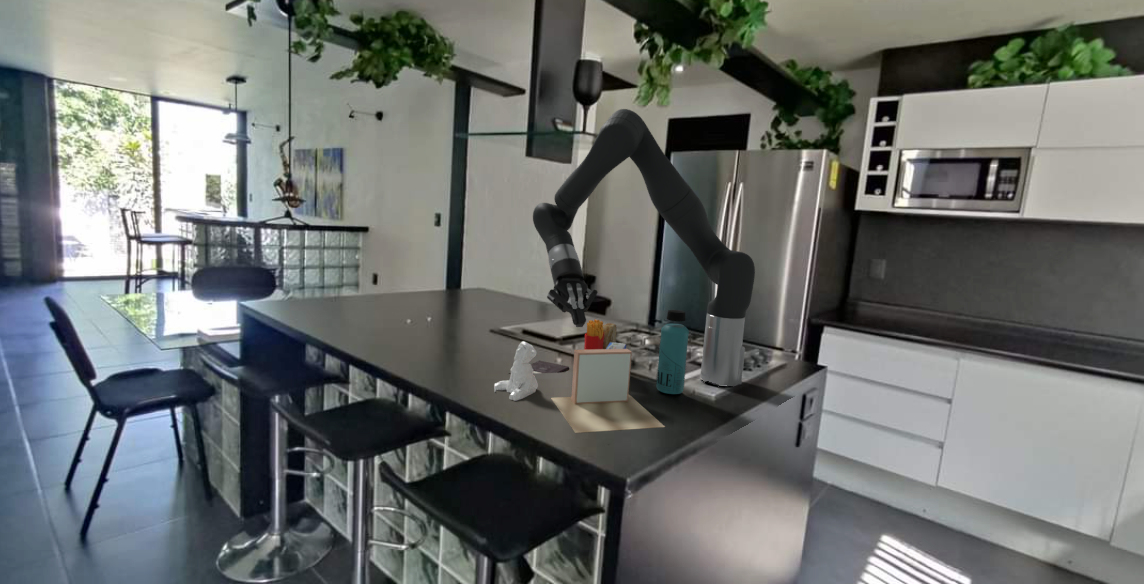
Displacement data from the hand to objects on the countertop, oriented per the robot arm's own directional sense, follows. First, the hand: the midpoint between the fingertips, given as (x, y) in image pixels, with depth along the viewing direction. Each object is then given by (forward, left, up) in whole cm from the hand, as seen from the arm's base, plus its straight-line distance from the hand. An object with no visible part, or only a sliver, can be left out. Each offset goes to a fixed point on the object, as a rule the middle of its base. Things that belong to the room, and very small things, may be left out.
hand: (580, 325), depth 123 cm
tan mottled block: (-15, -22, -15) cm, 30 cm away
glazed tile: (-1, +12, -14) cm, 19 cm away
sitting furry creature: (+15, +4, -15) cm, 21 cm away
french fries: (-9, -16, -15) cm, 23 cm away
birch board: (0, +18, -14) cm, 23 cm away
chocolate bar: (+8, -10, -15) cm, 19 cm away
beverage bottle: (-19, +9, -15) cm, 26 cm away
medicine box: (-10, -3, -15) cm, 18 cm away
